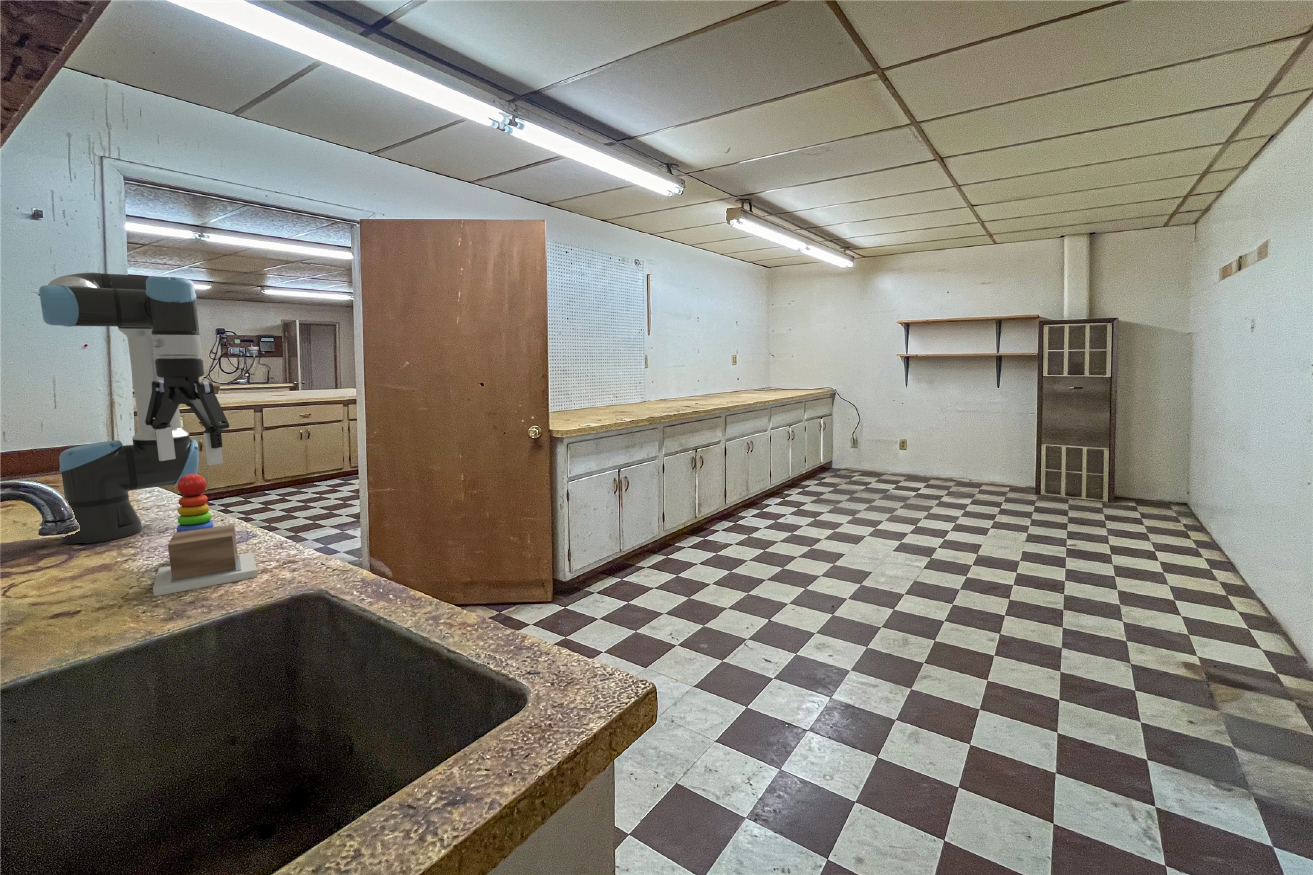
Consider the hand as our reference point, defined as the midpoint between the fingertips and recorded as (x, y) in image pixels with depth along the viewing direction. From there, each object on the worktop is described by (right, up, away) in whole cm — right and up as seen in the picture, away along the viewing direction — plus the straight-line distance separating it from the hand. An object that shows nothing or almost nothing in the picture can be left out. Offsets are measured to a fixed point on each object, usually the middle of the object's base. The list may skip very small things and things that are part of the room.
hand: (191, 462), depth 123 cm
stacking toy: (-6, -22, +10) cm, 25 cm away
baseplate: (+5, -23, -1) cm, 24 cm away
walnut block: (+4, -21, -2) cm, 22 cm away
